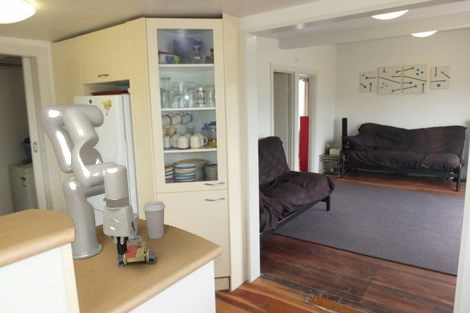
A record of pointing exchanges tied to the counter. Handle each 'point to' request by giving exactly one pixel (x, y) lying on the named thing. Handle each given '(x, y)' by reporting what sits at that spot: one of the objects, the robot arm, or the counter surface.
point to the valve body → (138, 256)
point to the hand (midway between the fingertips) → (122, 253)
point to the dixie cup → (136, 222)
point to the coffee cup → (154, 218)
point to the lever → (133, 246)
